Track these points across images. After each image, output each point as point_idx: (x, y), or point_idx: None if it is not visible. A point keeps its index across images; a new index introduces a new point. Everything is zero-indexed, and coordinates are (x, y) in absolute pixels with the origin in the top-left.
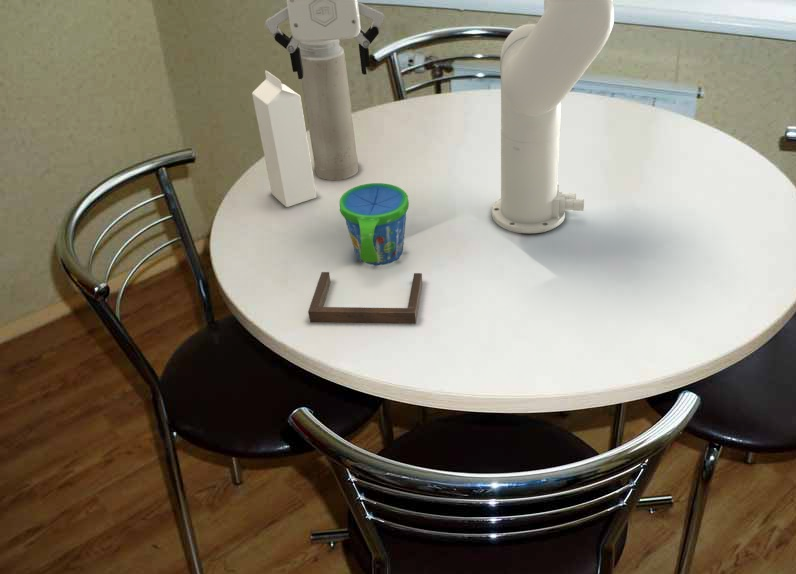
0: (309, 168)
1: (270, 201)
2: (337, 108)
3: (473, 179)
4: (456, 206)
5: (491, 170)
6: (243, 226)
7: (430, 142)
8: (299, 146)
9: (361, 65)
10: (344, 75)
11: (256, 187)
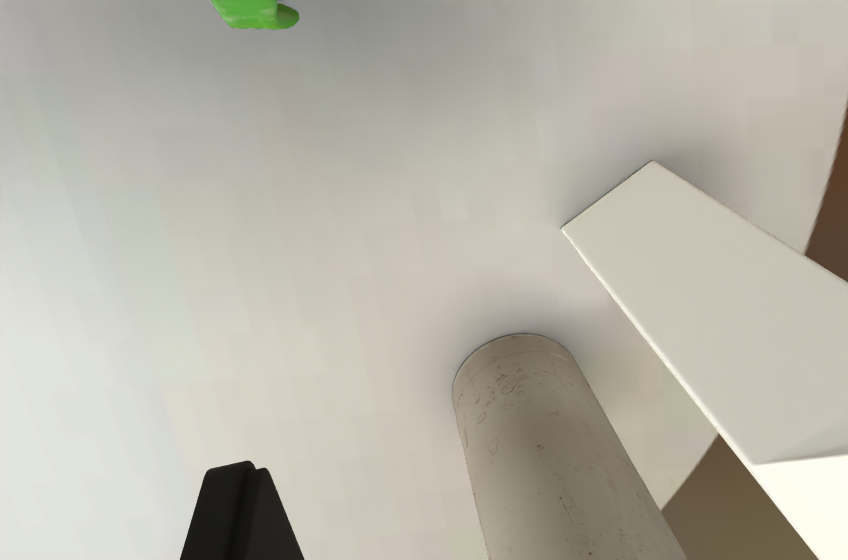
0: (604, 267)
1: None
2: (539, 524)
3: (66, 373)
4: (68, 200)
5: (24, 428)
6: (787, 27)
7: None
8: (668, 295)
9: (240, 541)
10: None
11: None
